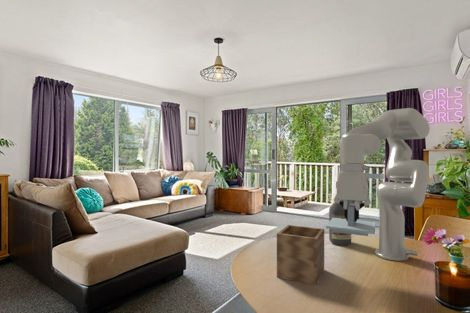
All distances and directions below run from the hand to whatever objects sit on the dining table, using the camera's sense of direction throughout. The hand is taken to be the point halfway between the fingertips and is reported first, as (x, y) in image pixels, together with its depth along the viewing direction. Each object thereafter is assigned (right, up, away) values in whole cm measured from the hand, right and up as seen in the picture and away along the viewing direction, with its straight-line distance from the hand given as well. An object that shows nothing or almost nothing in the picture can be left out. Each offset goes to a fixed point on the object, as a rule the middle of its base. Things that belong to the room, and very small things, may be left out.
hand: (351, 220), depth 101 cm
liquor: (+10, -20, +39) cm, 45 cm away
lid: (0, -4, 0) cm, 4 cm away
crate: (-17, -20, +4) cm, 27 cm away
